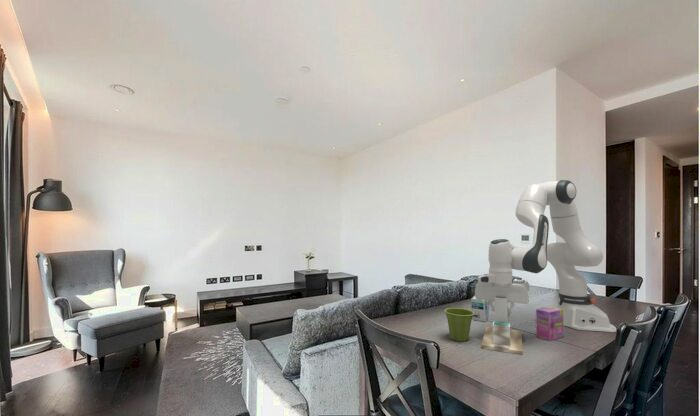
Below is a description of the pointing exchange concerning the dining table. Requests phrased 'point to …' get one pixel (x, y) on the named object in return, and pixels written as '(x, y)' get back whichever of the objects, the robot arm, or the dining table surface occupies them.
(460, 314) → the plant pot
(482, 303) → the light bulb box
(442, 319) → the dining table surface
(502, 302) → the block
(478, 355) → the dining table surface
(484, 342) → the board
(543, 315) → the box
